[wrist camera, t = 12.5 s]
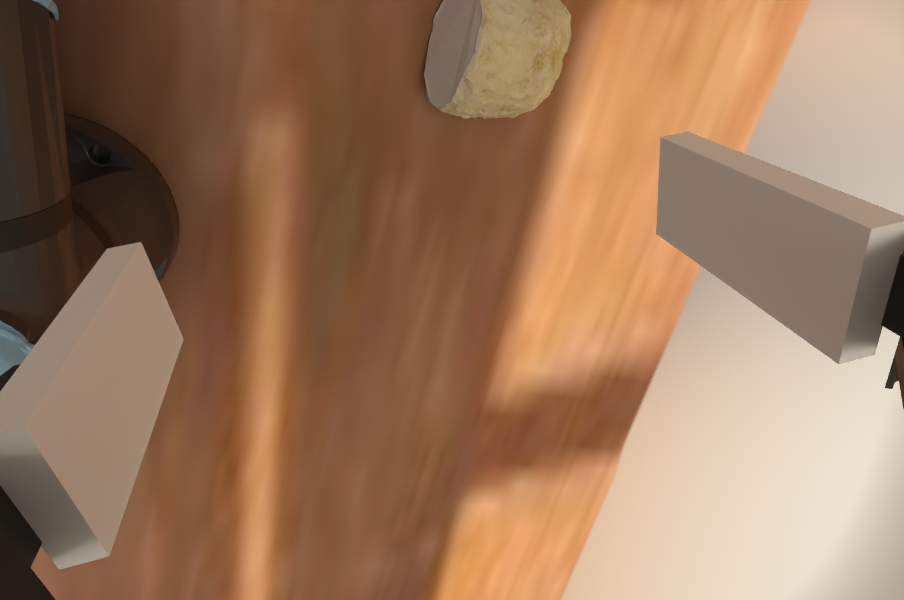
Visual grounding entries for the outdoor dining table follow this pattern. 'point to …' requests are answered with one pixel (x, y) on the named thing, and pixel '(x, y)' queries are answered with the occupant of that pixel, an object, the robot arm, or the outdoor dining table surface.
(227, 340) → the outdoor dining table surface
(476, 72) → the beige rounded lump
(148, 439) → the robot arm
